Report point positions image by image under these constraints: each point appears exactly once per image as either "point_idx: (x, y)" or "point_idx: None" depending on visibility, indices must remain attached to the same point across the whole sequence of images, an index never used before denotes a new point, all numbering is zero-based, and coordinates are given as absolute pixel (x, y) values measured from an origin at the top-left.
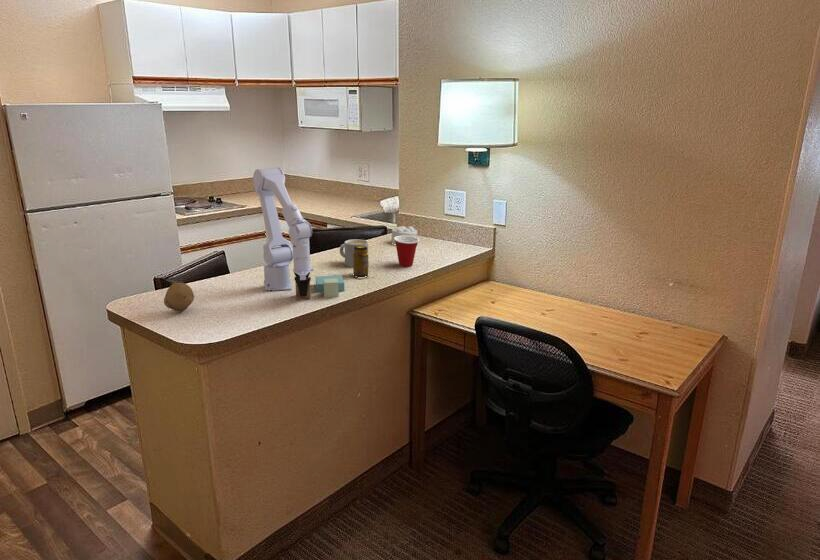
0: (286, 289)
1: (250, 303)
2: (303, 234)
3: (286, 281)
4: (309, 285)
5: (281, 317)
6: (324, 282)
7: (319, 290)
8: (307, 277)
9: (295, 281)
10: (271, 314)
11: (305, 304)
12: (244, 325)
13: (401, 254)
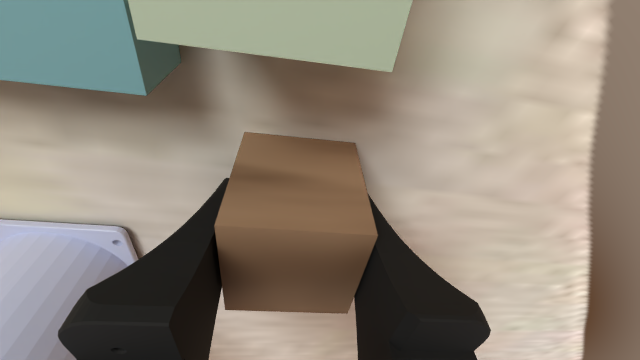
0: (133, 248)
1: (317, 339)
2: None
3: (81, 289)
4: (373, 231)
5: (543, 281)
6: (359, 60)
7: (169, 43)
8: (414, 341)
9: (240, 309)
10: (480, 302)
11: (444, 185)
12: (520, 346)
13: None
